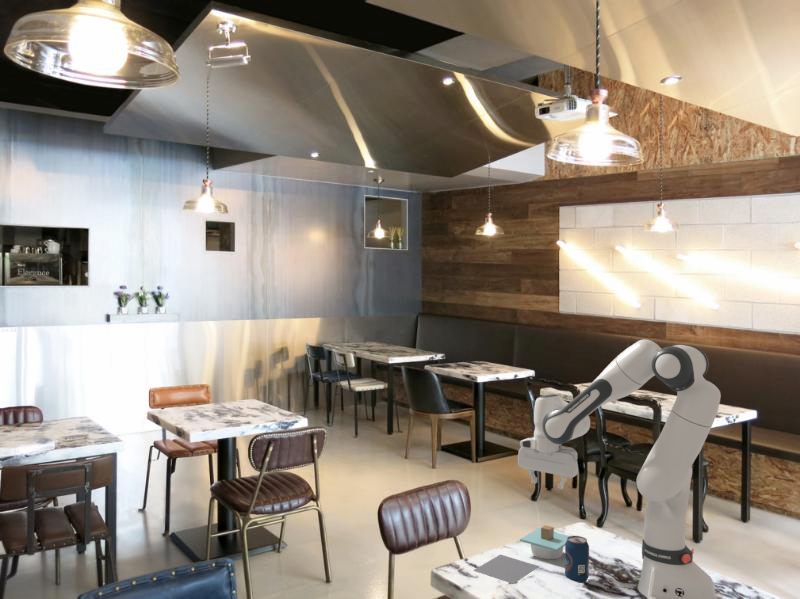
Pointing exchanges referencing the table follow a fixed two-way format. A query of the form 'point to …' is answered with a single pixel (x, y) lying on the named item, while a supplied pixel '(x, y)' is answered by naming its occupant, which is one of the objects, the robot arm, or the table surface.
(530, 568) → the mat
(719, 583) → the table surface
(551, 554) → the ramekin
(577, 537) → the soda can
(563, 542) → the cover sheet
